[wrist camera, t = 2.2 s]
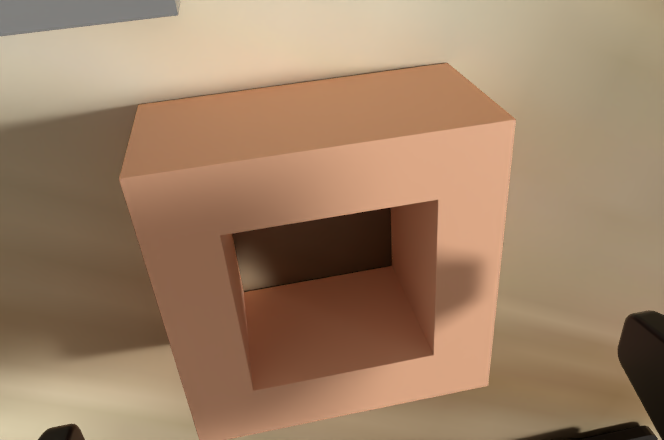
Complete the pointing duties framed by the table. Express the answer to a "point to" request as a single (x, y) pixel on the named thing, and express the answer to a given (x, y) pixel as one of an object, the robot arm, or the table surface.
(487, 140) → the ring
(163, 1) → the post plate
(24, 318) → the table surface
